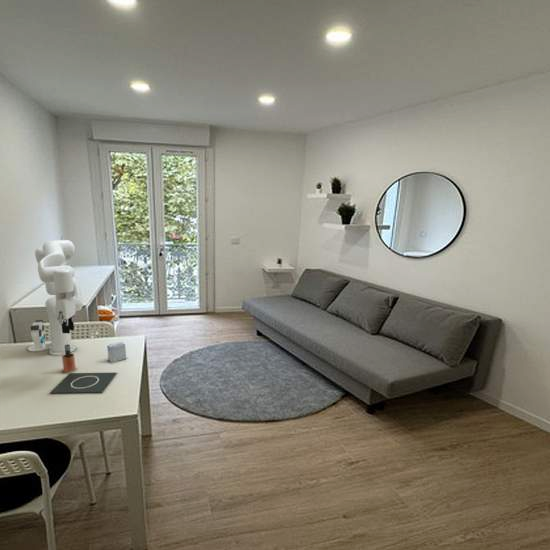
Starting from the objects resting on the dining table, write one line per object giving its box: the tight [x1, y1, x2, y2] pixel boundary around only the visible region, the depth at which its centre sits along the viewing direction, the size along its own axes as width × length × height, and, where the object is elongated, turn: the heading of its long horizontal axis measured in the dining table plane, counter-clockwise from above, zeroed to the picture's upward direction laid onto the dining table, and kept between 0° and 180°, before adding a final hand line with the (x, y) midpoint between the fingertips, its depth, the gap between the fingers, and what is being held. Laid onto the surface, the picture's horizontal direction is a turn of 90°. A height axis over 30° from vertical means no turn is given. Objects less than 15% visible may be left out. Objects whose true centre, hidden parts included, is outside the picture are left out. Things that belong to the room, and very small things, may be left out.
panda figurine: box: [27, 319, 51, 352], centre depth 201 cm, size 12×11×15 cm
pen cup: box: [61, 353, 76, 373], centre depth 176 cm, size 5×5×8 cm
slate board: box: [49, 372, 117, 395], centre depth 165 cm, size 22×18×1 cm
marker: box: [64, 344, 72, 358], centre depth 175 cm, size 2×2×13 cm
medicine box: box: [106, 341, 127, 363], centre depth 189 cm, size 8×4×9 cm, turn 134°
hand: (68, 331), depth 170 cm, fingers open, 3 cm apart
